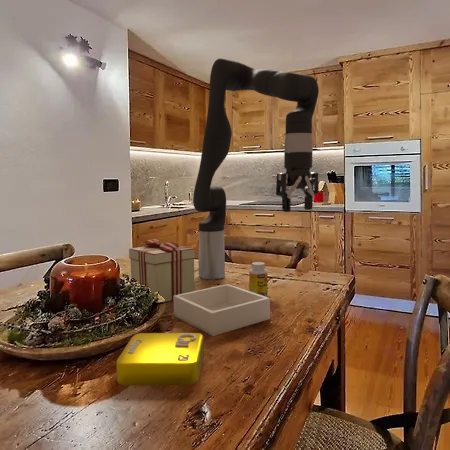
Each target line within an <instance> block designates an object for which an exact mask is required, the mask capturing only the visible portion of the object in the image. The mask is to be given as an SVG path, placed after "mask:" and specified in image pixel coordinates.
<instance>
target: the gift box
mask: <svg viewBox="0 0 450 450" xmlns="http://www.w3.org/2000/svg"><path fill="white" fill-rule="evenodd" d="M142 243H143V244H144V245H145V246H139V247H132V248H128V258H129V259H130V279H131V278H134V279H136V280H137V282H138V284H140V285H145V286H149V288H150V291H151V292H157V291H159V295H160V296H162V297H163V298H164V299H165V301H166V302H165V303H167V302H171V301H174V300H173V296H174V295H179V294H184V293H188V292H193V291H196V290H195V259H196V248H194V247H191V246H185V245H179V244H177V243H175V242H173V241H170V242H161V240H159V239H156V238H155V239H154V238H153V239H148V240H143V241H142Z"/></svg>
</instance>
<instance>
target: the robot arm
mask: <svg viewBox="0 0 450 450" xmlns="http://www.w3.org/2000/svg"><path fill="white" fill-rule="evenodd" d="M226 91H230V92H237V91H239V92H240V91H255V92H256V93H258V94H260V95H264V96H269V97H272V98H278V99H280V100H283V101H288V102H293V103H296V106H295V107H296V108H295V110H293V111H289V112H288V113H286V116H285V136H284V137H285V138H284V147H283V149H284V152H283V153H284V155H283V158H284V159H283V160H284V162H283V164H284V165H283V167H284V169H285V172H277V174H276V185H275V195H276V196H278V197H280V198H281V199H282V200H281V209H282V211H283V212H284V213H290V212H291V206H292V205H291V203H292V202H291V201H292V199H291V196H292V194H293V193H294V192H295V191H296V190H298V189H300V190H301V191H302V192H303V195H305V196H304V202H303V203H304V204H303V206H304V210H307V211H312V209H313V203H314V195H316V194H319V172H317V171H316V172H311V171H310V170H311V169H312V168H313V150H314V149H313V147H314V146H313V145H314V144H313V117H314V114H315V113H314V112H315V109H316V107H317V101H318V98H319V94H320V93H319V92H320V91H319V85H318V82H317V80H316V78H315V77H314V76H311V75H307V74H300V73H295V72H286V71H280V70H274V69H265V68H264V69H262V68H261V69H257V68H254V67H252V66H249V65H247V64H245V63H243V62H240V61H238V60H234V59H233V60H232V59H227V58H224V57H223V58H222V57H221V58H217V59H216V60H214V62H213V64H212V67H211V70H210V77H209V89H208V107H207V115H206V123H205V129H204V134H203V140H202V149H201V157H200V163H199V168H198V173H197V177H196V181H195V185H194V190H193V194H192V203H193V207H194V209H195V211H196V212H198V213H207V212H209V214H208V216H207V217H205V218H204V219H203V220H202V221H200V222H199V223H198V252H197V254H198V259H197V260H198V276H199V277H200V278H201V279H204V280H218V279H223V278H225V277H226V262H225V261H226V260H225V259H226V258H225V257H226V256H225V252H226V251H225V224H226V220H227V219H226V217H227V196H226V195H227V194H226V192H225V189H224V188H223V187H222V186H221V185H212V182H213V178H214V176H215V173H216V171H218V169H219V167H220V166H221V165H222V164H223V162H224V161H225V159H226V158H227V157H228V154H229V152H230V147H231V142H232V141H231V140H232V135H233V131H232V127H231V123H230V120H229V118H228V115H227V111H226V108H225V107H226V106H225V97H226Z"/></svg>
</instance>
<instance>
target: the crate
mask: <svg viewBox="0 0 450 450" xmlns="http://www.w3.org/2000/svg"><path fill="white" fill-rule="evenodd" d="M172 301H173V316H174V317H175V318H178V319H179V320H181V321H182V322H185V323H187V324H189V325H191V326H193V327H194V328H196V329H199V330H200V331H201V332H204V333H205V334H208V335H209V336H211V337H215V336H219V335H221V334H225V333H229V332H231V331H234V330H235V331H236V330H238V329H241V328H244V327H249V326H250V325H252V326H253V325H254V324H258V323H261V322H264V321H268V320H270V319H271V298H270V297H268V296H266V297H265V296H262V295H259V294H256V293H253V292H250V291H249V290H248V289H244V288H241V287H237V286H234V285H231V284H230V283H229V284H228V283H226V284H221V285H216V286H212V287H207V288H204V289H198V290H195V291H193V292H188V293H184V294H179V295H174V296H173V300H172Z"/></svg>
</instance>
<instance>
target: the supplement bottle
mask: <svg viewBox="0 0 450 450" xmlns="http://www.w3.org/2000/svg"><path fill="white" fill-rule="evenodd" d="M268 273H269V272H268V269H266V263H265V262H262V261H256V262H252V263H251V268H250V269H249V271H248V277H249V280H248V281H249V282H248V283H249V284H248V285H249V290H248V291H250V292H253V293H256V294H259V295H262V296H265V297H268V281H269V280H268V278H269V277H268Z"/></svg>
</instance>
